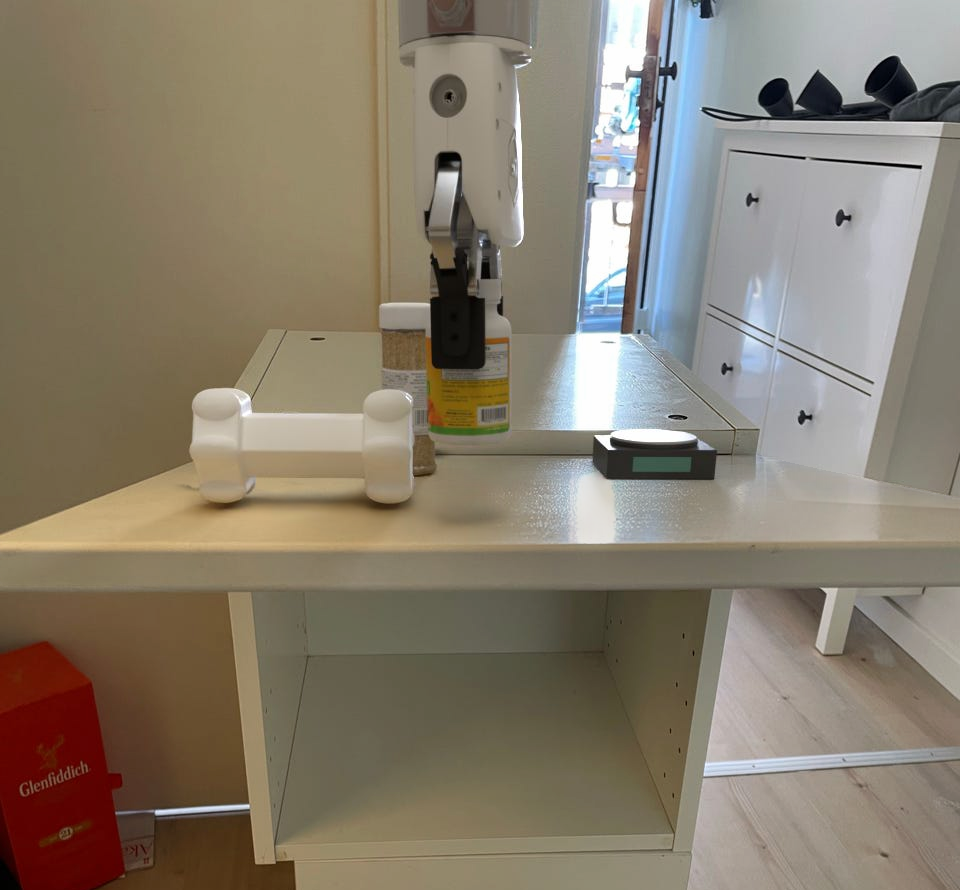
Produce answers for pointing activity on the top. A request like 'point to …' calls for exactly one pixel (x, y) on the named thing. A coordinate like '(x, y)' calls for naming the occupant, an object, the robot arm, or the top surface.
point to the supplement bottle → (474, 385)
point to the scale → (653, 455)
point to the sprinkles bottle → (409, 370)
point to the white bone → (301, 445)
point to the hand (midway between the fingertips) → (469, 361)
